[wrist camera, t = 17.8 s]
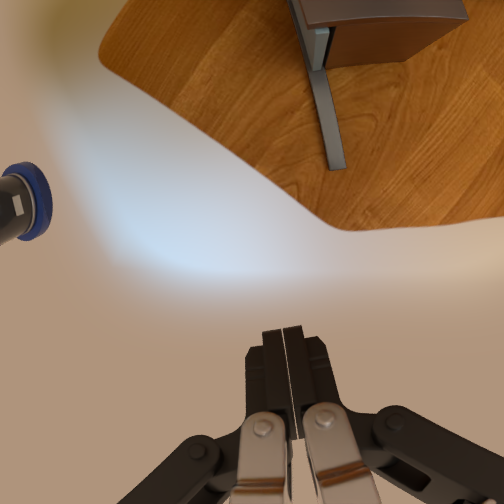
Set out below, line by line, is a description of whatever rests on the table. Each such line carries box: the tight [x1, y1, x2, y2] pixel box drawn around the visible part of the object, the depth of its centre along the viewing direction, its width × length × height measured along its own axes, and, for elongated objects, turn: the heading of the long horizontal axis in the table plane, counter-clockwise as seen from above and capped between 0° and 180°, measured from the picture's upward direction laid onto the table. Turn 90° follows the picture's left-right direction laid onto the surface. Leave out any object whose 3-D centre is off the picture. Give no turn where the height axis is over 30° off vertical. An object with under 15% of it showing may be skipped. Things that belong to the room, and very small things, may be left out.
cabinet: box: [286, 0, 469, 171], centre depth 18 cm, size 10×22×14 cm, turn 13°
